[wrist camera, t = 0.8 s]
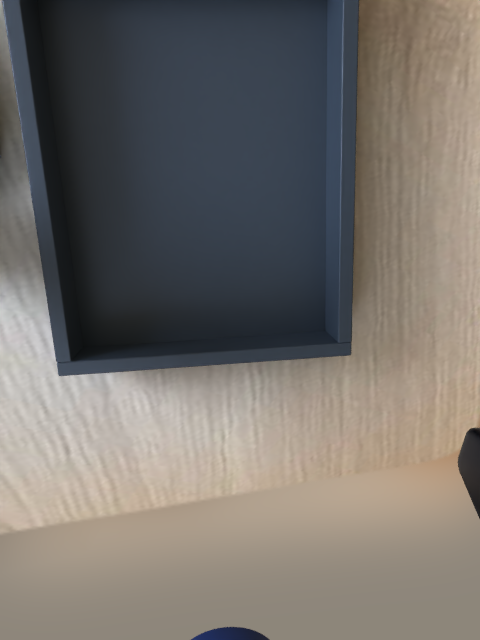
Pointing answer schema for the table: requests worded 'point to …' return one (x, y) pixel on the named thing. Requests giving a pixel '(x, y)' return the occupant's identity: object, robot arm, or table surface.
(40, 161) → the tray
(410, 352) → the table surface
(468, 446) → the robot arm
